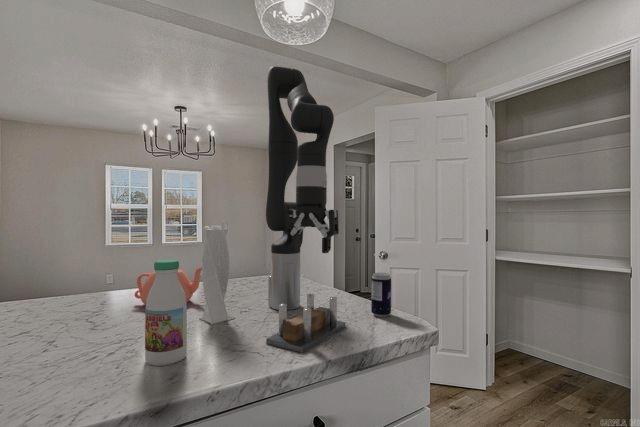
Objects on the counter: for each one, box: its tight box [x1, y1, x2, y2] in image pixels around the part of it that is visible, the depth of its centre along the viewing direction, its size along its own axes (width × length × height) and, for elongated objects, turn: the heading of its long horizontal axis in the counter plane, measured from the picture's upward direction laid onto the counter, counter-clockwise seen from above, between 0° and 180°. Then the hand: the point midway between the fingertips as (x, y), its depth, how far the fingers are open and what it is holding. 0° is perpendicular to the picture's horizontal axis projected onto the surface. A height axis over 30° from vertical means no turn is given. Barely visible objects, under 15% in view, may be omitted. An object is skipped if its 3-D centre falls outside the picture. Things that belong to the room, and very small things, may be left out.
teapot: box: [134, 266, 202, 306], centre depth 112 cm, size 22×16×12 cm
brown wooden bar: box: [283, 306, 330, 341], centre depth 84 cm, size 16×4×4 cm, turn 149°
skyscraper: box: [199, 219, 235, 326], centre depth 95 cm, size 8×8×28 cm
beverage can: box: [370, 272, 392, 318], centre depth 101 cm, size 6×6×12 cm
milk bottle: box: [144, 259, 188, 367], centre depth 70 cm, size 8×8×20 cm
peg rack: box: [265, 293, 347, 354], centre depth 84 cm, size 10×20×8 cm, turn 149°
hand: (310, 251), depth 84 cm, fingers open, 8 cm apart
